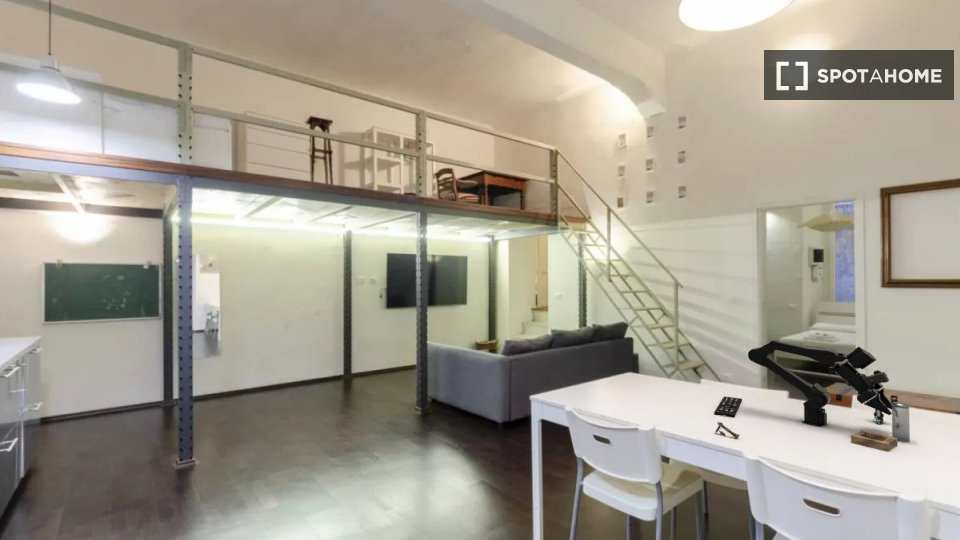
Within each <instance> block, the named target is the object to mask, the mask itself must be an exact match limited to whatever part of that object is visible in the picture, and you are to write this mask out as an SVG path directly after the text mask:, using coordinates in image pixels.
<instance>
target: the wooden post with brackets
mask: <svg viewBox="0 0 960 540" xmlns="http://www.w3.org/2000/svg"><path fill="white" fill-rule="evenodd" d="M716 423H717V425H718V426H717V428H716V429H715V431H714V432H715V433H718V432H719V434H720V435H721V436H725V437H726V433H725V432H724V431H726V432H727V433H728V434H730V435H731V436H732V437H733V438H734V439H735V440H736V439H738V438H739V437H740V436H741V435H740V434H739V433H735V432H733V431H732V430H731V429H729V427H727V426H726V425H724V424H723V422H721V421H720V422H719V421H717V422H716ZM721 429H723V430H724V431H723V430H721Z"/></svg>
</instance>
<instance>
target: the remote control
mask: <svg viewBox="0 0 960 540" xmlns="http://www.w3.org/2000/svg"><path fill="white" fill-rule="evenodd" d="M742 401H743V398H739V397H732V396H723V397H722V399H721V400H720V402H719V403H718V405H717V406H716V409H715V410H714V412H713V415H715V416H719V417H720V416H721V417H727V418H736V415H737V413H738V411H739V409H740V408H741V407H740V406H741V404H742Z"/></svg>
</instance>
